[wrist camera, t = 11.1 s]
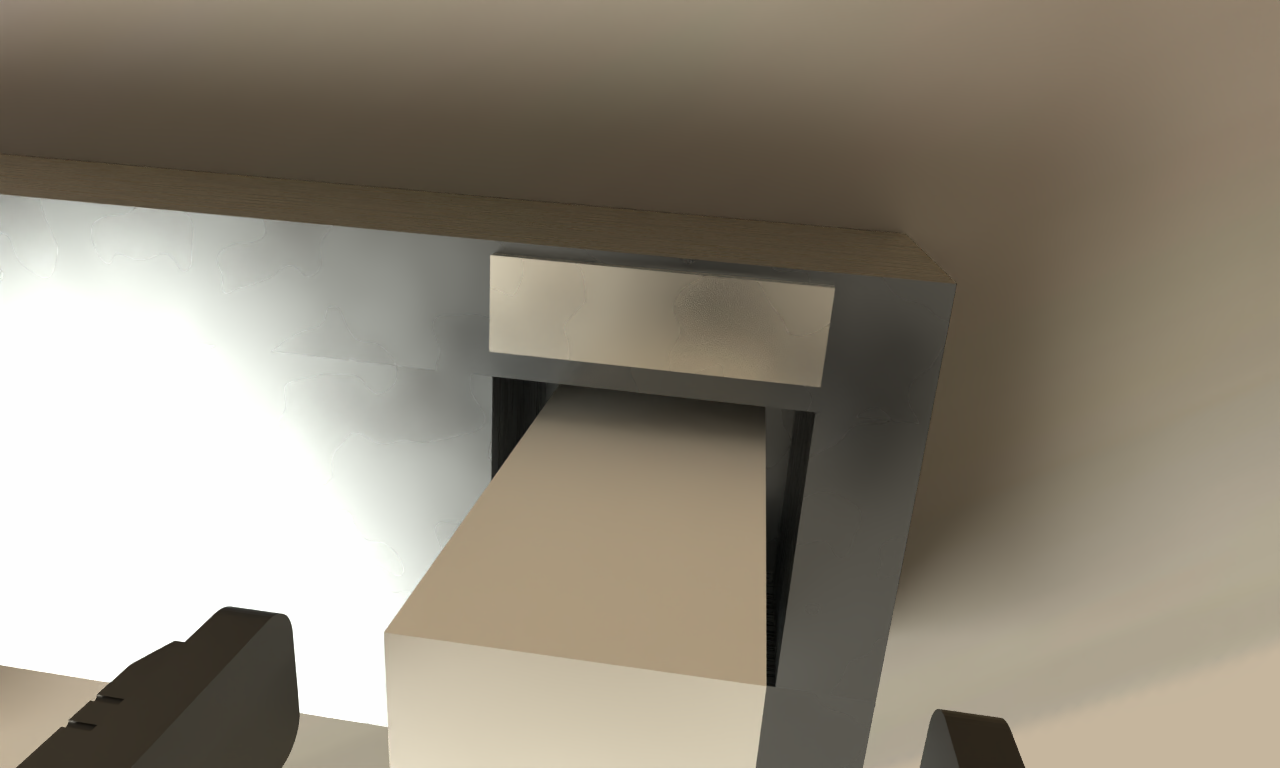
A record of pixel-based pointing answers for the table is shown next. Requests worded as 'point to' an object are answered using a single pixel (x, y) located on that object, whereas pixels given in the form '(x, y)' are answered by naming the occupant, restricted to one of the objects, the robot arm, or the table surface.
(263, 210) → the panel
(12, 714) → the table surface
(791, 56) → the table surface
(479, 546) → the plug
